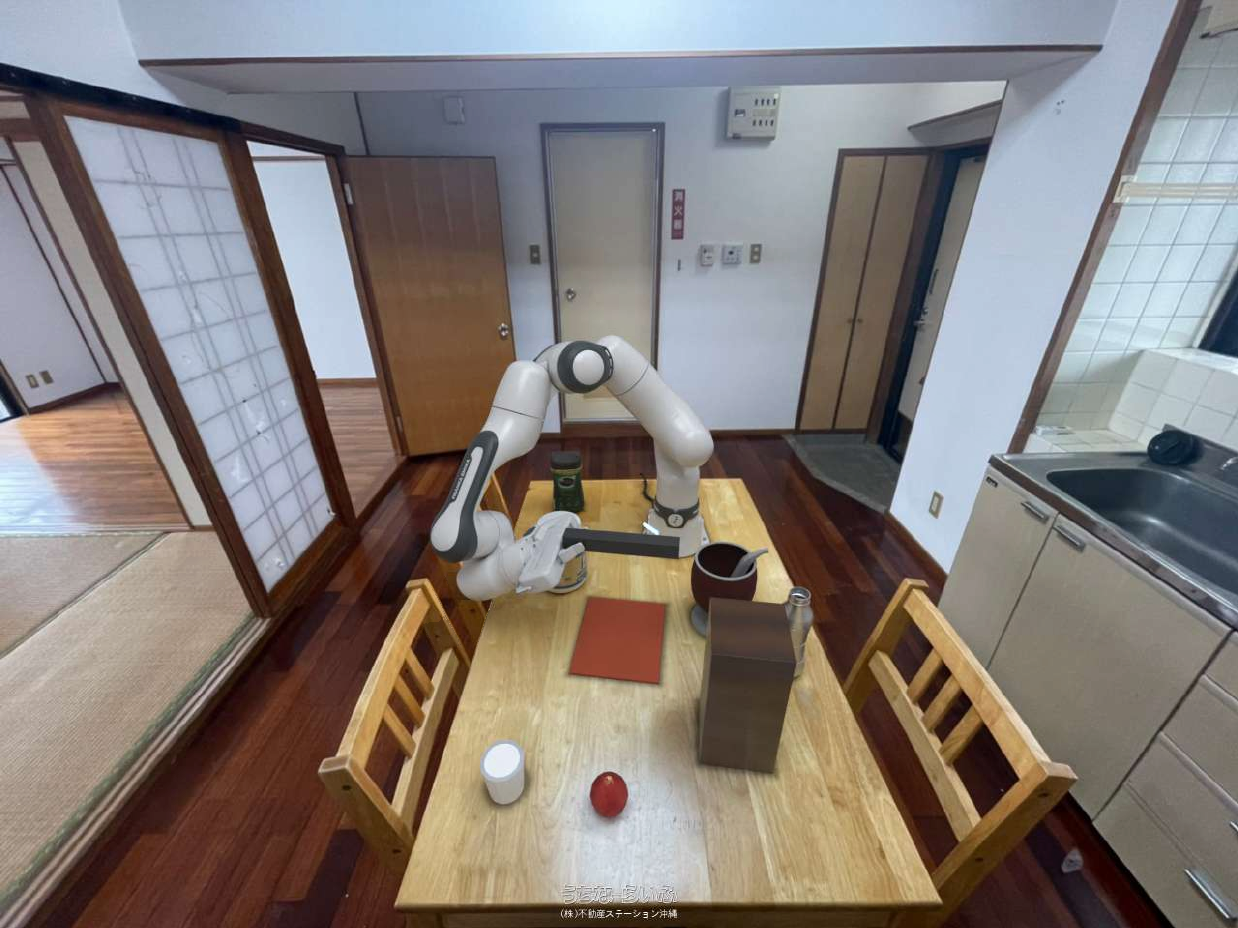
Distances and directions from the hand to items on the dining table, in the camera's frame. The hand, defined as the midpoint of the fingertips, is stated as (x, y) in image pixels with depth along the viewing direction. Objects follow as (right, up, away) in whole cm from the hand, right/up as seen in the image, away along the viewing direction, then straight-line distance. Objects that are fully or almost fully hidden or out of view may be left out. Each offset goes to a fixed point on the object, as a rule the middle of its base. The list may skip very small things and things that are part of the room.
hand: (586, 538), depth 98 cm
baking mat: (+7, -23, +14) cm, 28 cm away
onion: (+5, -40, -17) cm, 44 cm away
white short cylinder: (-12, -38, -14) cm, 43 cm away
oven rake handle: (+7, -2, 0) cm, 7 cm away
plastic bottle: (+40, -28, +6) cm, 49 cm away
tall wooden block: (+27, -34, -7) cm, 44 cm away
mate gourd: (+30, -21, +18) cm, 41 cm away
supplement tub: (-8, -15, +31) cm, 35 cm away
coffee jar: (-9, +1, +60) cm, 61 cm away
